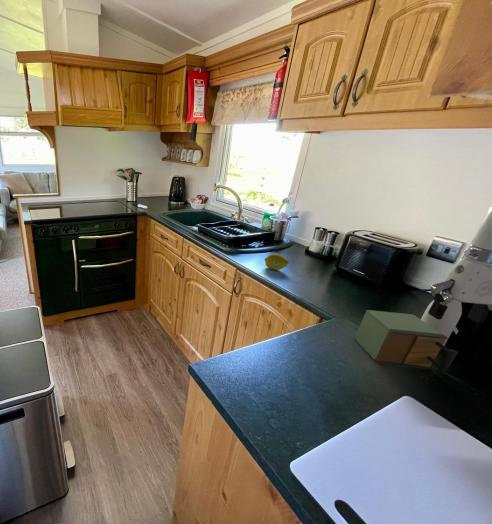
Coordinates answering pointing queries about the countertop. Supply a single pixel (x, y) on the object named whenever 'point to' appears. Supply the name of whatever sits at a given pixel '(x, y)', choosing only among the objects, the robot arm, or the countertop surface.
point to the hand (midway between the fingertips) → (453, 318)
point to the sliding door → (429, 353)
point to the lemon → (276, 261)
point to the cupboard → (392, 336)
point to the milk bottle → (444, 318)
